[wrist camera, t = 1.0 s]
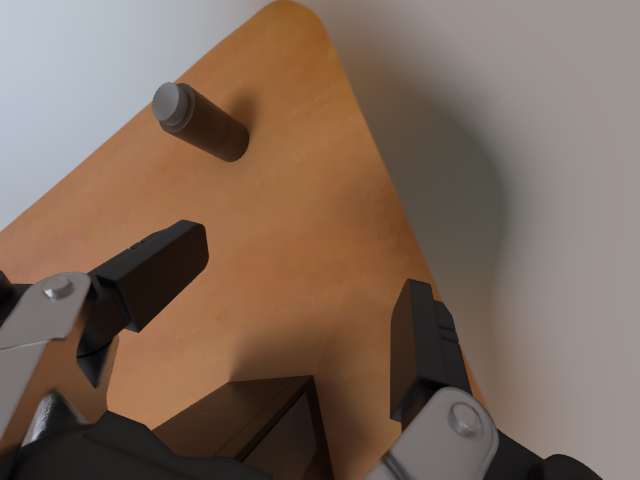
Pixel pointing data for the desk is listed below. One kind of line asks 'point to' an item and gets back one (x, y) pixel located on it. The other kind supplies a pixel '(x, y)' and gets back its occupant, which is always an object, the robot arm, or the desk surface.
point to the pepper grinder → (199, 121)
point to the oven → (256, 428)
